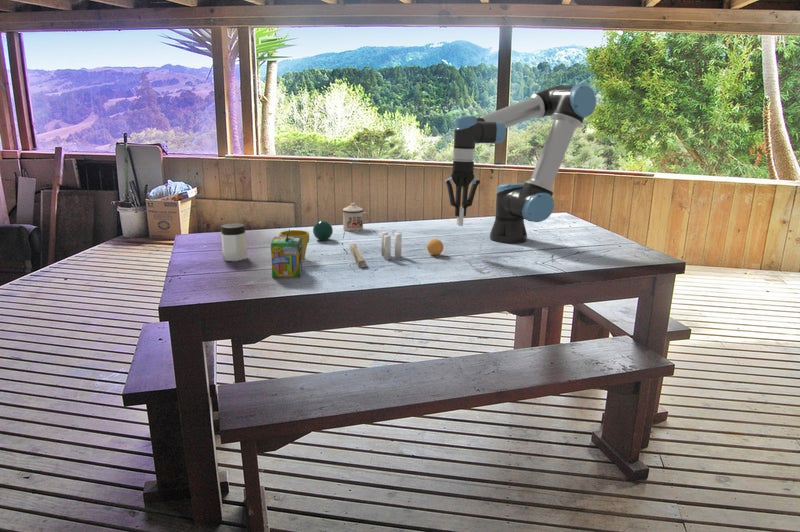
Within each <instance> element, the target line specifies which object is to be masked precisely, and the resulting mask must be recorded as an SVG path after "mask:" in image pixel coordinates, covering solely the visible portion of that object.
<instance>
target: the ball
mask: <svg viewBox="0 0 800 532" xmlns="http://www.w3.org/2000/svg"><path fill="white" fill-rule="evenodd" d="M426 249H427V251H428V253H429V254H430V255H432V256H439V255H441V254H442V253H443V251H444V244H443V242H442V241H441V240H440V239H437V238H433V239H431V240H430V241H428V243H427V246H426Z"/></svg>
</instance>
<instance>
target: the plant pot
mask: <svg viewBox="0 0 800 532" xmlns="http://www.w3.org/2000/svg"><path fill="white" fill-rule="evenodd" d="M287 233H288V230H283V231H280V232H279V233H278V234H279V235H278V237H287ZM288 237H302V260H303V261H304V260H305V258H306V252H307V247H308V244H309V243H310V232H308V231H306V230H301V229H290V231H289V236H288Z"/></svg>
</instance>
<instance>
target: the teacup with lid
mask: <svg viewBox="0 0 800 532" xmlns="http://www.w3.org/2000/svg"><path fill="white" fill-rule="evenodd" d="M342 215H343V216H342V217H343V218H342V219H343V223H342V224H343V226H342V227H343V230H344V231H345V230H347V231H346V232H360V231H359V230H361V231H363V230H362V229H364V224H367V223H368V222H369V219H370V214H369V213H368V212H364V209H363V207H360V206H358V205H356V203H355V202H351V203H350V205H348V206H345V207H343V209H342ZM364 215H366V216H367V219H366V220H365V221H364Z"/></svg>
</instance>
